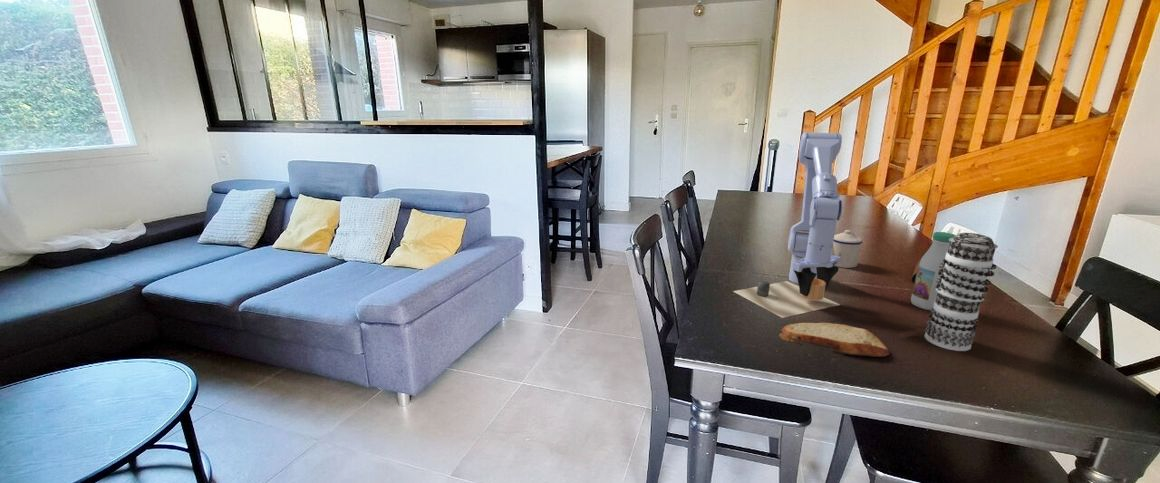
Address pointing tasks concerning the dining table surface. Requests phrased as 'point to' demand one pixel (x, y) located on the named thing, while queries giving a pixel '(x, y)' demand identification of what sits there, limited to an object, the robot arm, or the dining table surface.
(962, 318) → the decorative candle
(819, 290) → the sleeve
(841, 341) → the slice of bread
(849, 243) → the teacup with lid
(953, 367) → the dining table surface
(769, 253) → the dining table surface
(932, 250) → the milk bottle
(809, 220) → the robot arm
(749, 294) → the board
